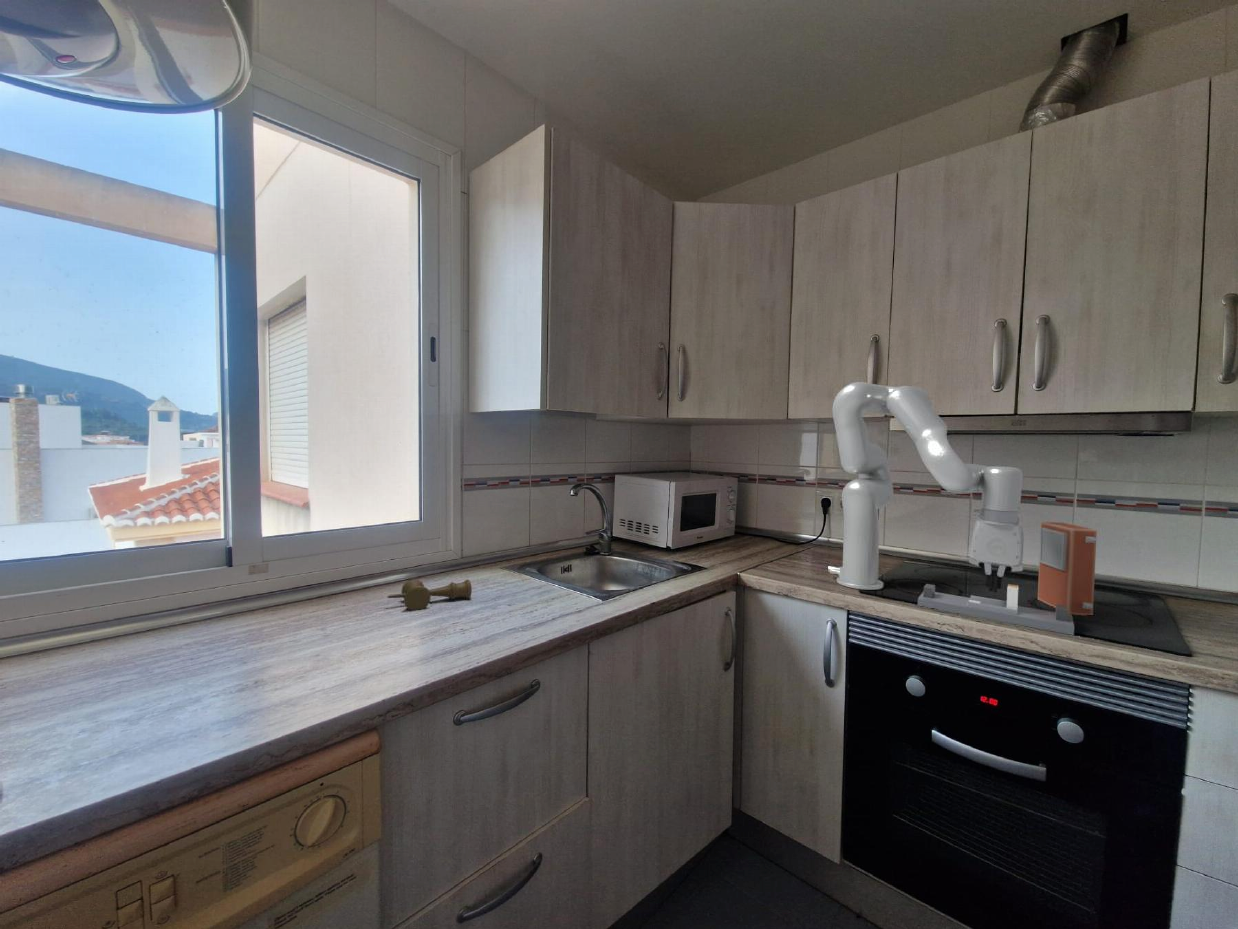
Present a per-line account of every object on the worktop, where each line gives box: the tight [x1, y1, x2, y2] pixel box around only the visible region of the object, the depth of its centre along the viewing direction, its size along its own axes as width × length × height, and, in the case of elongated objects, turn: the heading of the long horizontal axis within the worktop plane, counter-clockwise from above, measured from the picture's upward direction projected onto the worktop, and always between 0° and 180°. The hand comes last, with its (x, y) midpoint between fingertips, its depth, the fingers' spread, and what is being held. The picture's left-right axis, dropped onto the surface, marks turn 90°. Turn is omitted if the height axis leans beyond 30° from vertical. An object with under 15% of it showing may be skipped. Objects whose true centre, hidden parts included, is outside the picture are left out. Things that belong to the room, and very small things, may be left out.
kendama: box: [387, 579, 473, 612], centre depth 127 cm, size 6×10×20 cm
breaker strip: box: [917, 583, 1075, 636], centre depth 124 cm, size 30×10×4 cm, turn 50°
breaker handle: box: [1006, 583, 1019, 610], centre depth 121 cm, size 2×4×6 cm, turn 140°
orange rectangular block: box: [1037, 521, 1098, 616], centre depth 130 cm, size 21×7×15 cm
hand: (992, 590), depth 124 cm, fingers closed
